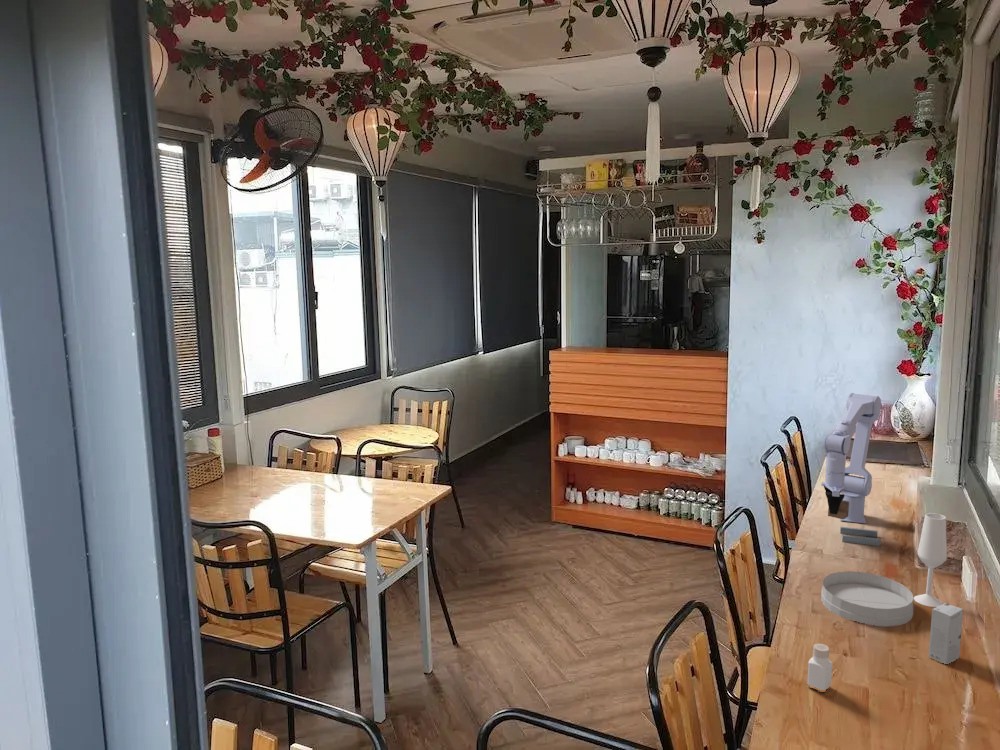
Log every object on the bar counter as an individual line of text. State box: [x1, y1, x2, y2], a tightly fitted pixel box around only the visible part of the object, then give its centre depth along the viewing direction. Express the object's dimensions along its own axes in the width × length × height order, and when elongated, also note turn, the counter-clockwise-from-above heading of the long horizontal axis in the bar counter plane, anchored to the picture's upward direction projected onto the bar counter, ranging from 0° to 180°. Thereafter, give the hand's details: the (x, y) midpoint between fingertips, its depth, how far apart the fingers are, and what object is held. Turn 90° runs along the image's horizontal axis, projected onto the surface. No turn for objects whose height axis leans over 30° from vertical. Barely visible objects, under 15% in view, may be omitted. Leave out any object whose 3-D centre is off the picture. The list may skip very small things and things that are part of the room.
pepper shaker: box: [806, 643, 833, 690], centre depth 160 cm, size 4×4×10 cm
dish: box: [820, 570, 914, 627], centre depth 197 cm, size 22×22×5 cm
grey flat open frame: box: [839, 526, 881, 547], centre depth 241 cm, size 8×11×2 cm
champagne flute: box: [913, 512, 948, 608], centre depth 197 cm, size 7×7×24 cm
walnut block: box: [827, 500, 849, 520], centre depth 242 cm, size 4×5×5 cm
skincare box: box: [928, 602, 964, 665], centre depth 171 cm, size 6×4×12 cm
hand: (832, 510), depth 243 cm, fingers closed on walnut block, 5 cm apart
